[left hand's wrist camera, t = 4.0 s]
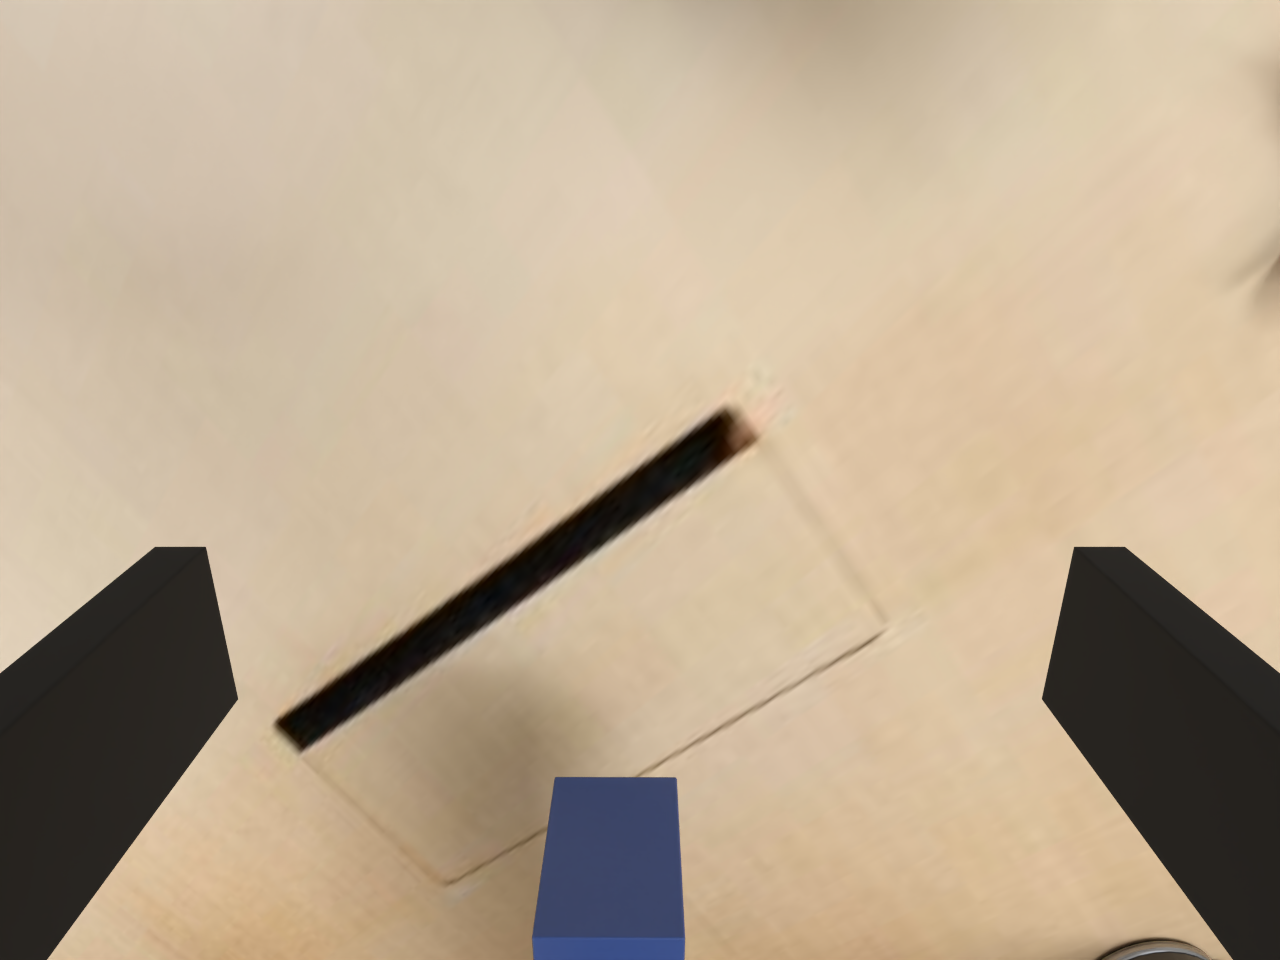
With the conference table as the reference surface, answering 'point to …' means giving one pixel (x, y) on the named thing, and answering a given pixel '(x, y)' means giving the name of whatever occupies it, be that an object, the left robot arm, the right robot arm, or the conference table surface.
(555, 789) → the bar
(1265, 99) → the conference table surface
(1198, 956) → the right robot arm
